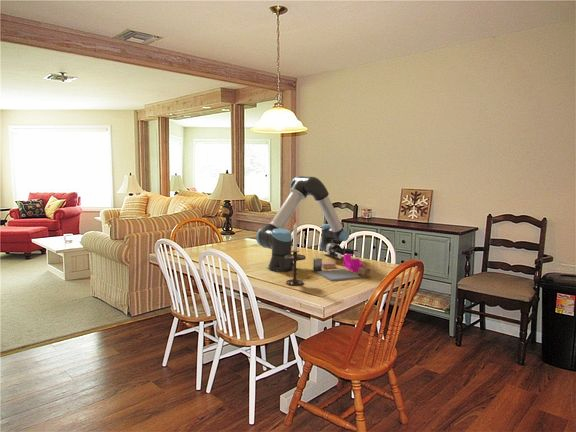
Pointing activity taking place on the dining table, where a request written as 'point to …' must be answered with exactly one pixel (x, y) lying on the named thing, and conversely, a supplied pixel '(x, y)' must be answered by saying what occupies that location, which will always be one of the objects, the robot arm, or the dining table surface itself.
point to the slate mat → (338, 275)
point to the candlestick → (294, 258)
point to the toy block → (352, 263)
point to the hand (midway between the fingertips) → (350, 255)
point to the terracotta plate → (328, 265)
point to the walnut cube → (364, 272)
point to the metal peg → (317, 264)
